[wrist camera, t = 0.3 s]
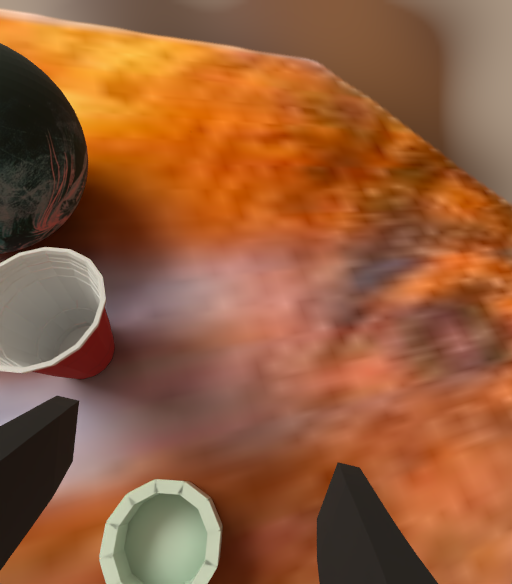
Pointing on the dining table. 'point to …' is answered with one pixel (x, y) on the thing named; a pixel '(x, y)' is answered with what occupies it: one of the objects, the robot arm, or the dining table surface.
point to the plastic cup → (53, 315)
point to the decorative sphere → (36, 154)
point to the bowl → (162, 536)
